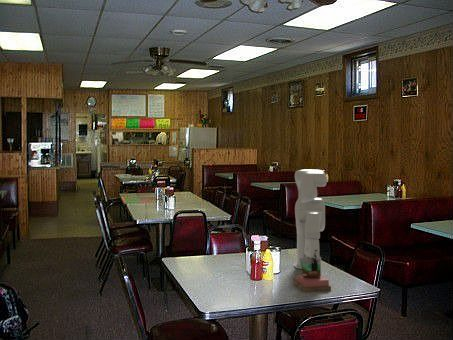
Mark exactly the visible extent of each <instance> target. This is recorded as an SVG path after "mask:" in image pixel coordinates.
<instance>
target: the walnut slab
mask: <svg viewBox="0 0 453 340" xmlns="http://www.w3.org/2000/svg"><path fill="white" fill-rule="evenodd" d="M293 285H294V286H295V287H296V288H298V289H299V290H301V292H303V293H315V292H329V291H330V292H331V291H332V286H331V285H330V284H329V286H316V287H304V286H303V285H302V284H301V283H299V282H298V281H297V280H296V278H295V279H293Z"/></svg>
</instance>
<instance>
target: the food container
mask: <svg viewBox="0 0 453 340" xmlns="http://www.w3.org/2000/svg"><path fill="white" fill-rule="evenodd" d="M314 260H315V259H314ZM299 262H301V267H302V269H301V271H302V274H303V277H317V276H321V275H322V273H321V271H322V270H321V268H322V267H321V265H322V264H321V262H322V257H321V256H320V255H319V260H318V270H317V271H312V258H300V260H299Z"/></svg>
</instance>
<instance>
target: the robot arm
mask: <svg viewBox="0 0 453 340" xmlns="http://www.w3.org/2000/svg"><path fill="white" fill-rule="evenodd" d="M294 180H295V181H294V182H295V185H296V187H297V192H298V193H297V194H298V197H297V200H296V202H295V205H294V215H295V227H296V262H295V263H294V264H293V266H294V268H296V269H299V270H302V267H301V262H299V260H300V258H312V271H317V270H318V260H319V256H320V240H319V239H320V238H321V232H323V231H324V230H325V227H326V204H325V203H326V202H325V200H324V198H321V197H318V188H322V187H323V188H324V187H326V186H327V182H328V178H327V174H326V172H325V171H324V170H321V169H300V170H299V169H298V170H296V171H295V173H294ZM317 187H318V188H317ZM314 259H315V260H314Z"/></svg>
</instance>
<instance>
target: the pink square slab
mask: <svg viewBox="0 0 453 340" xmlns="http://www.w3.org/2000/svg"><path fill="white" fill-rule="evenodd" d="M295 279H296V280H297V281H298V282H299V283H301V284H302V285H303V286H304V287H316V286H329V285H330V280H329V279H328V278H326V277H325V276H324V275H322V274H321V276H317V277H303V273H301V274H297V273H296V275H295Z"/></svg>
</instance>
